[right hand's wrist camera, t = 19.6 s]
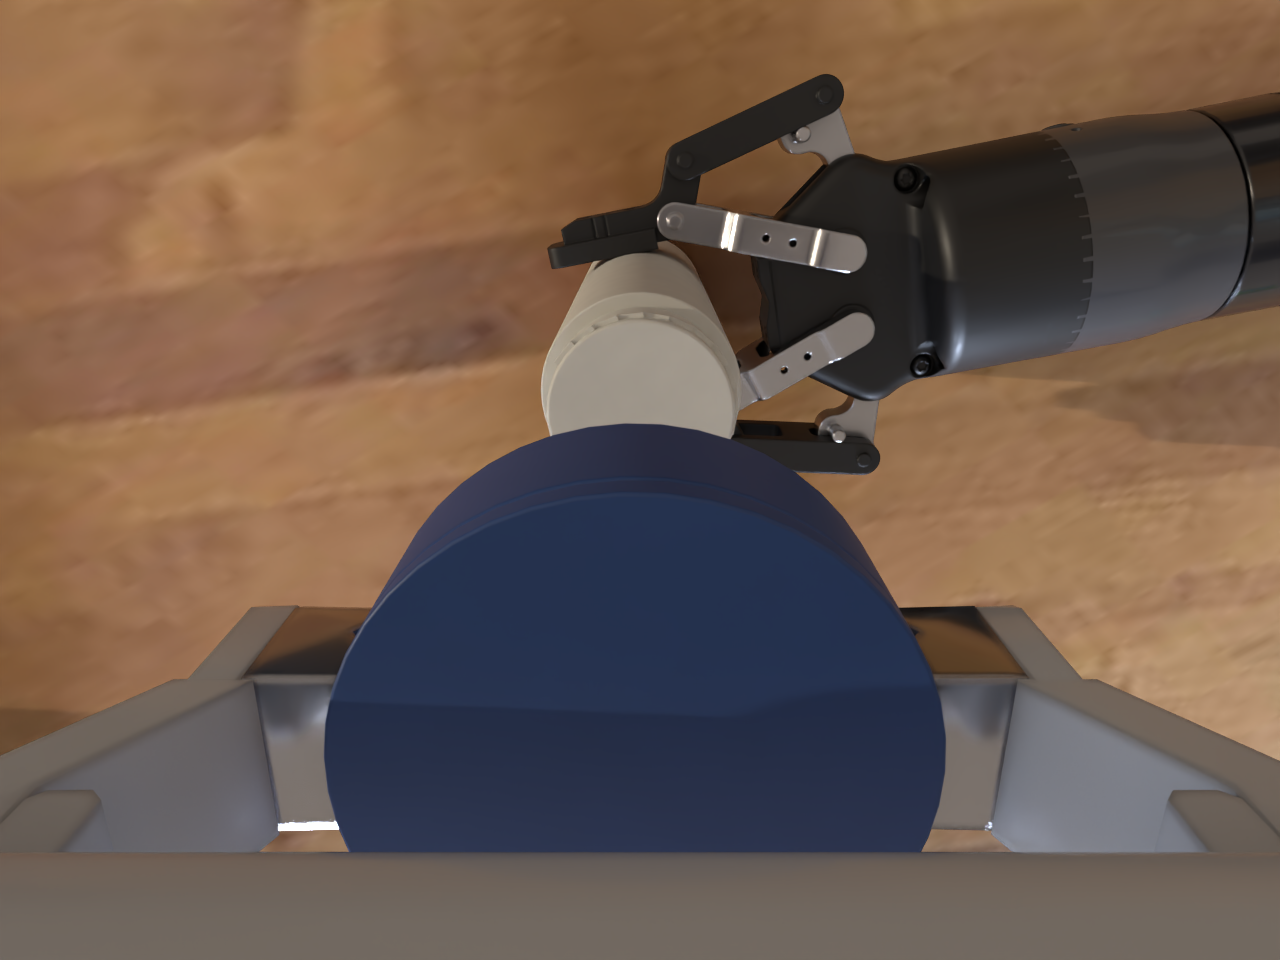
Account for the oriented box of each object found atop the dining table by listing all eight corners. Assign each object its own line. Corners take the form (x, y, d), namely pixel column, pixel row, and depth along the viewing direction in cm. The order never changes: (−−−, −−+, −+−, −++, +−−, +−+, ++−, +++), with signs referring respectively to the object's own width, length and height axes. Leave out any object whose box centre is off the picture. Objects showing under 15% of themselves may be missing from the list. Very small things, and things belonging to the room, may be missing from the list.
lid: (286, 549, 10) (195, 649, 8) (777, 330, 9) (815, 380, 7) (527, 917, 12) (503, 1074, 10) (952, 764, 11) (1024, 901, 9)
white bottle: (725, 287, 37) (795, 398, 20) (650, 377, 38) (656, 554, 21) (633, 209, 36) (623, 256, 19) (559, 305, 37) (488, 429, 20)
